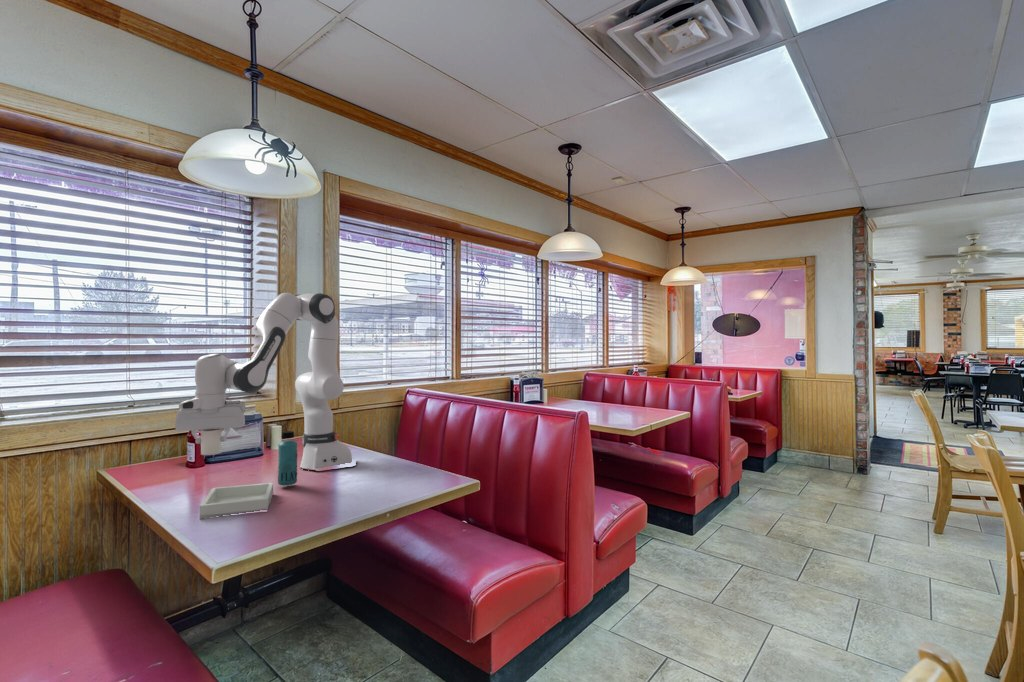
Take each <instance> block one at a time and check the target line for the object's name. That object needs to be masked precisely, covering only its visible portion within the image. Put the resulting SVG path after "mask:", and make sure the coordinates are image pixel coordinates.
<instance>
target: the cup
mask: <svg viewBox="0 0 1024 682" xmlns="http://www.w3.org/2000/svg"><path fill="white" fill-rule="evenodd" d="M221 436H222V429H208V430H200V437H201V443H200V455H201V456H213V455H218V454H221V453H222V451H223V448H222V447H223V446H222V445H223V444H222V443H223V442H221Z"/></svg>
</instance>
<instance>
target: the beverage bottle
mask: <svg viewBox="0 0 1024 682" xmlns="http://www.w3.org/2000/svg"><path fill="white" fill-rule="evenodd" d="M294 437H295V432H294V431H293V430H285V431H282V432H281V439H286V440H282V441H280V442H279V443H278V448H277V449H278V456H277V457H278V460H277V461H278V463H277V464H278V465H277V483H278V484H277V485H279V486H284V487H285V486H286V487H287V486H292V485H295V484H297V483H298V482H297V481H298V452H299V451H298V442H297V441H295V439H292V438H294Z"/></svg>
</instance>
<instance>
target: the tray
mask: <svg viewBox="0 0 1024 682" xmlns="http://www.w3.org/2000/svg"><path fill="white" fill-rule="evenodd" d="M272 494H273V495H274V482H265V483H254V484H244V485H243V484H242V485H233V486H232V485H229V486H219V487H218V486H217V487H212V488H211V489H210V491H209V492H208V494H207V495H206V496H205V498H204V499H203V500H202V502H201V503H200V504H199V520H203V519H202V518H208V519H211V518H210V517H216V516H223V515H231V514H239V513H246V512H254V511H260V510H268V511H269V509H268V506H269V504H270V505H271V503H270V501H271V502H272V500H271V498H272V499H273V497H272ZM269 507H270V506H269Z"/></svg>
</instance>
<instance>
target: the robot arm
mask: <svg viewBox="0 0 1024 682" xmlns="http://www.w3.org/2000/svg"><path fill="white" fill-rule="evenodd" d="M335 315H336V305H335V302H334V299H333V298H332V297H331V296H330V295H328V294H325V293H321V292H319V293H315V292H313V293H312V292H311V293H310V292H308V293H303V294H296V295H295V294H293V293H291V292H282V293H280V294H278V295H277V296H276V297H275V298H274V299H273V300H272V301H271V302H270V303H269V304H268V305H267V307H265V309H264V310H263V312H262V313H261V314H260V316H259V318H258V319H257V322H256V330H257V332H258V334H260V336H261V337H262V339H263V340H262V342H261V344H260V346H259V348H258V349H257V351H256V353H255V354H254V356H253V358H252V359H251V360H249V361H247V362H238V361H235V360H233V359H230V358H228V357H226V356H224V355H223V354H222V353H210V354H204V355H202V356H200V357H199V358H198V359H197V360H196V363H195V368H194V371H195V372H194V382H195V386H196V390H195V392H194V394H195V395H194V396H195V397H194V398H193V397H192V398H190V399H187V400H184V401H181V402H180V403H179V404H178V409H179V411H177V412H176V416H175V421H174V429H175V430H176V431H177V432H187V431H188V432H189V431H190V432H191V436H193V438H194V439H195V444H201V436H199V435H198V432H199V431H201V430H208V429H221V430H223V429H224V431H223V432H225V433H224V435H221V442H222V443H223V442H227V441H228V440H227V436H228V434H229V433H230V431H231V429H238V428H243V426H244V425H245V424H246V418H245V412H246V403H244V402H243V401H241V400H227V395H226V394H227V393H226V391H227V390H229V389H231V390H234V391H241V392H245V393H247V394H248V393H249V394H252V393H253V394H254V393H256V392H259V391H260V390H262V388H264V386H265V385H266V383H267V380H268V376H269V372H270V369H271V367H272V365H273V363H274V361H275V360H276V358H277V356H278V355H279V352H281V349H282V347H283V345H284V343H285V341H286V336H287V334H288V333H289V330H290V329H291V328H292V326H293V324H294V323H295V321H296V320H297V321H308V322H309V323H310V327H311V329H310V336H309V344H308V353H307V357H308V360H309V361H310V364H311V370H312V371H307V372H304V373H301V374H300V375H299V376H297V378H296V379H295V382H294V388H295V390H296V392H297V393H298V396H299V397H300V403H301V406H302V410H303V417H304V418H303V420H304V422H303V425H304V426H303V429H304V432H303V434H302V447H303V450H302V458H301V461H300V466H299V468H300V467H302V468H310V469H316V470H319V468H323V467H328V466H334V465H340V464H345V463H351V462H352V458H353V454H352V450H351V448H350V447H349V446H347V445H346V444H344V442H341V441H340V440H339V438H340V434H339V433H338V432H337V431H334V426H333V425H334V413H333V410H332V409H331V407H330V405H329V402H328V401H332V400H335V399H338V398H339V397H340V396H341V395H342V394H343V391H344V388H345V387H344V382H343V379H342V378H341V377H340V373H339V370H338V363H337V356H338V343H339V333H340V332H339V331H340V330H339V329H340V328H339V320H338V318H337V316H335Z"/></svg>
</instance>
